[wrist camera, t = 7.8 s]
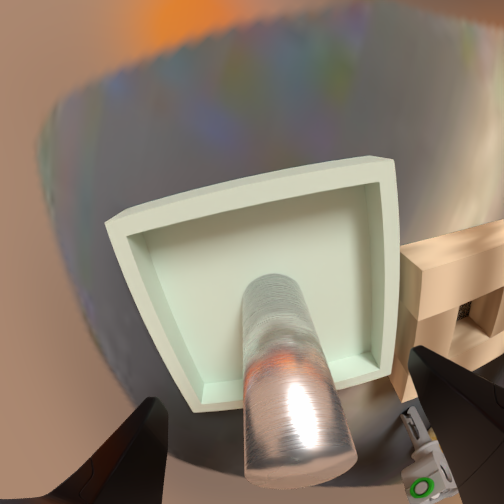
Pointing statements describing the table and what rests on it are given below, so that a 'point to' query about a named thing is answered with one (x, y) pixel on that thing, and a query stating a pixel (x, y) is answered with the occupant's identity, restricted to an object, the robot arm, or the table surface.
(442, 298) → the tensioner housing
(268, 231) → the parts tray
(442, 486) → the mechanical component
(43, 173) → the table surface
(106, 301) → the table surface
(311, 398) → the pin
